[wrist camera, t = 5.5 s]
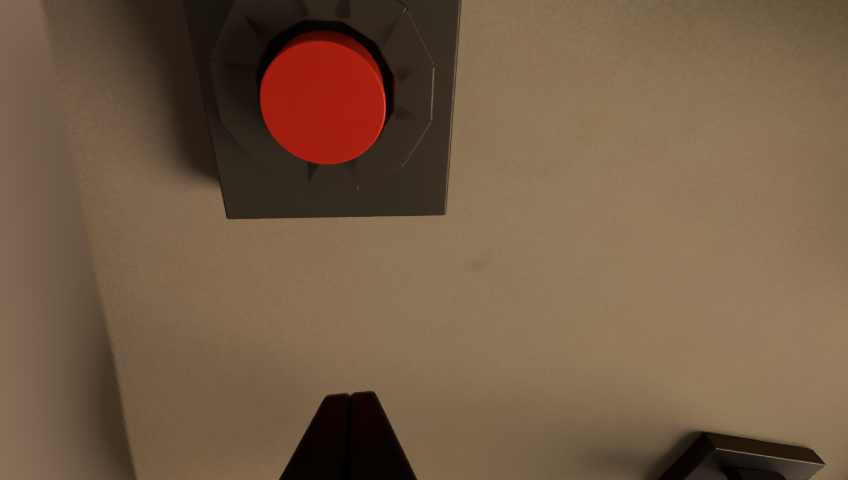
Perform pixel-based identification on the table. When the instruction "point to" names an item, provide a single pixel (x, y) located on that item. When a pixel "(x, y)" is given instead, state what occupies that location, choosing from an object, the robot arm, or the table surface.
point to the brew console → (404, 91)
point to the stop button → (323, 97)
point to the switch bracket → (743, 461)
